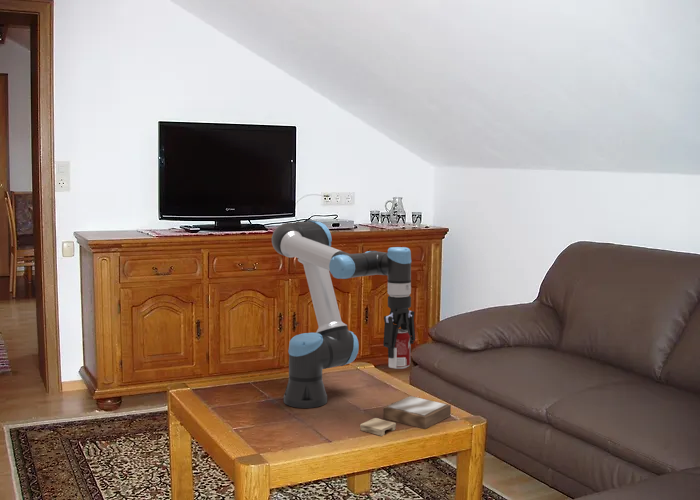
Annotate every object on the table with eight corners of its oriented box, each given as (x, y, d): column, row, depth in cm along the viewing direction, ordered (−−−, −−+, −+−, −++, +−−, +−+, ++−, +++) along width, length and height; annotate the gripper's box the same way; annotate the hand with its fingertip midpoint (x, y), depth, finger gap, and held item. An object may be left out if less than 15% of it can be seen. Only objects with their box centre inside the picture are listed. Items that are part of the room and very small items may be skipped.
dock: (383, 418, 252) (383, 406, 251) (409, 406, 264) (410, 394, 264) (424, 428, 242) (425, 416, 242) (450, 415, 255) (450, 404, 254)
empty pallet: (360, 430, 240) (360, 424, 240) (375, 423, 246) (375, 417, 246) (381, 436, 235) (381, 429, 235) (395, 429, 242) (395, 423, 241)
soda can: (407, 369, 245) (407, 333, 244) (387, 368, 247) (387, 332, 246) (411, 364, 252) (411, 328, 251) (391, 363, 254) (391, 328, 253)
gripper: (390, 300, 237) (390, 373, 240) (426, 292, 252) (426, 361, 255) (371, 298, 242) (371, 369, 244) (407, 290, 257) (407, 358, 259)
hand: (399, 365), depth 250 cm, fingers closed on soda can, 7 cm apart
